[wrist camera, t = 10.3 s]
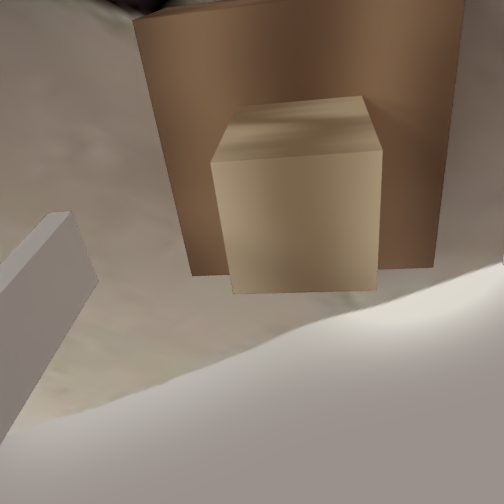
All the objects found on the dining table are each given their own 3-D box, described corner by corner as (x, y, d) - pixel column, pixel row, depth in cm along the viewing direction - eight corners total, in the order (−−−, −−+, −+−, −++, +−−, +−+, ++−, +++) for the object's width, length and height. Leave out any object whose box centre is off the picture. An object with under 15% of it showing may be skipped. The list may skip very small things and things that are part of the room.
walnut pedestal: (209, 228, 28) (192, 275, 24) (166, 7, 21) (132, 20, 17) (412, 217, 26) (433, 267, 22) (433, -27, 19) (467, -22, 15)
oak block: (250, 214, 21) (233, 294, 16) (236, 106, 18) (210, 162, 13) (360, 208, 20) (376, 290, 15) (361, 95, 18) (382, 150, 13)
